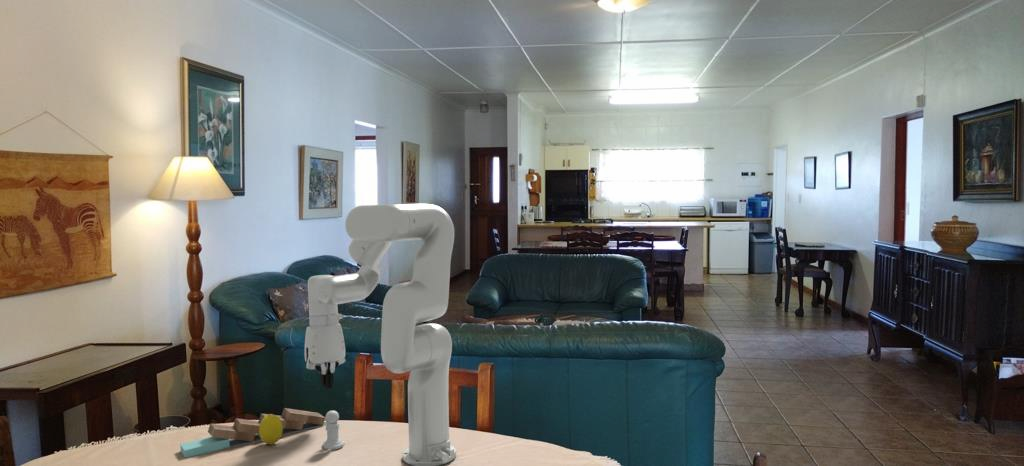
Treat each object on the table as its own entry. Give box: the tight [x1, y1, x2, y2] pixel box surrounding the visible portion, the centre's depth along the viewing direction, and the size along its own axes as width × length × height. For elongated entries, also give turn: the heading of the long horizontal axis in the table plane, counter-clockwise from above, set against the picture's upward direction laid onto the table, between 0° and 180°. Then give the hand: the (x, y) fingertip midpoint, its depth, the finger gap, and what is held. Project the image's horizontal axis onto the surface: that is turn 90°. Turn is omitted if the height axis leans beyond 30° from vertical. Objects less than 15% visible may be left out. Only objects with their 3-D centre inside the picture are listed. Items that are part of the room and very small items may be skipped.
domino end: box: [180, 435, 230, 458], centre depth 158 cm, size 5×2×10 cm
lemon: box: [259, 413, 283, 446], centre depth 160 cm, size 6×6×8 cm
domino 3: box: [258, 413, 304, 430], centre depth 169 cm, size 5×2×10 cm
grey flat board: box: [222, 419, 327, 450], centre depth 168 cm, size 6×28×1 cm, turn 128°
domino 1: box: [207, 423, 256, 441], centre depth 161 cm, size 5×2×10 cm
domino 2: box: [232, 418, 260, 434], centre depth 165 cm, size 5×2×10 cm
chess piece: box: [322, 410, 345, 451], centre depth 159 cm, size 5×5×9 cm
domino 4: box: [281, 407, 325, 425], centre depth 173 cm, size 5×2×10 cm
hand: (327, 387), depth 175 cm, fingers closed
